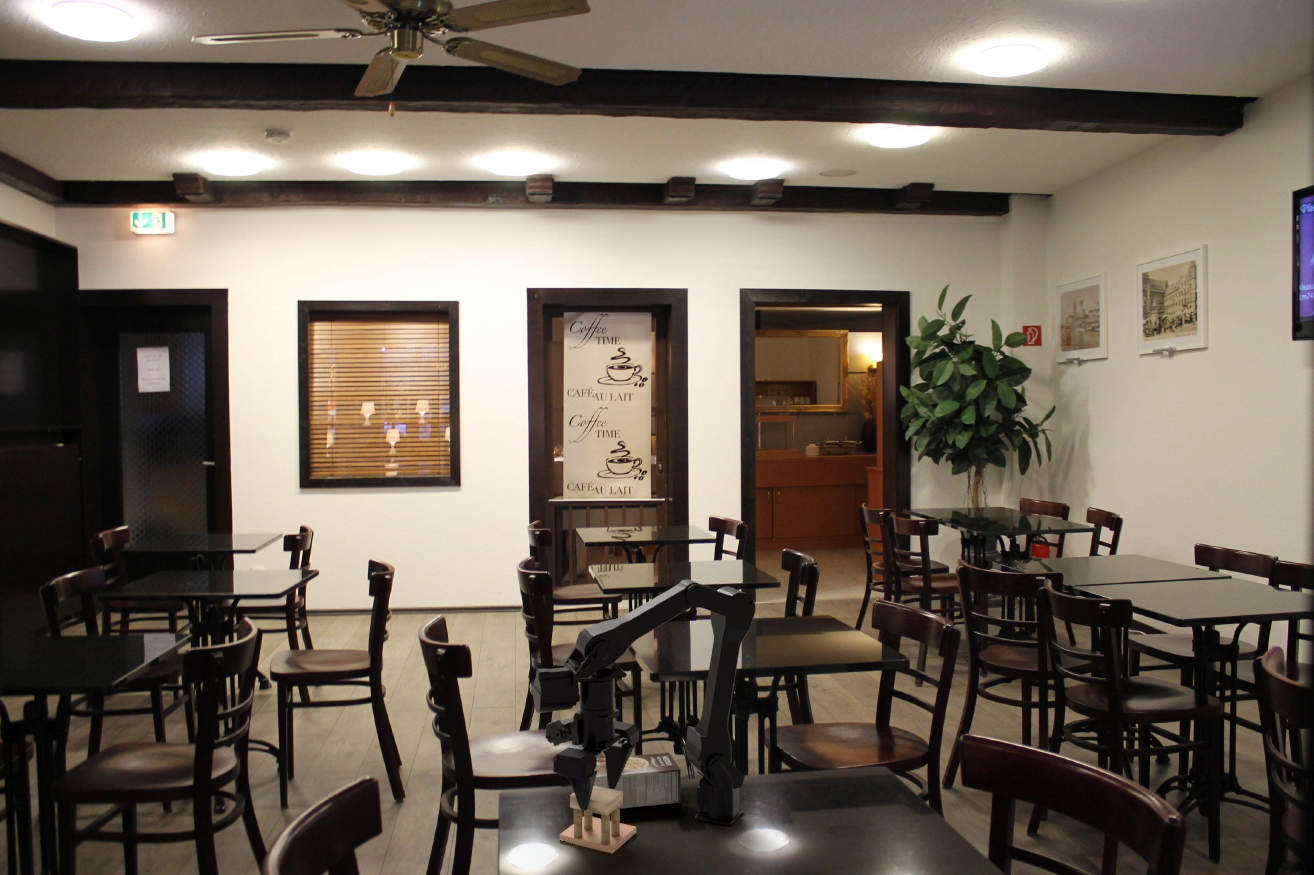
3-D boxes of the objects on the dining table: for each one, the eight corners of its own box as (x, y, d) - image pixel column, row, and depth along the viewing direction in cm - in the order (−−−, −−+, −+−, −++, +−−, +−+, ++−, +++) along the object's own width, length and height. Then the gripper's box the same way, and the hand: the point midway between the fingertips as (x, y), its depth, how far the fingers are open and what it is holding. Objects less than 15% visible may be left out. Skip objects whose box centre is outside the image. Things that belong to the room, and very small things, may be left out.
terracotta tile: (636, 832, 149) (636, 826, 149) (612, 853, 142) (612, 847, 142) (585, 821, 153) (585, 815, 153) (559, 840, 146) (559, 834, 146)
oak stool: (623, 833, 146) (622, 791, 146) (607, 846, 142) (607, 803, 142) (586, 825, 150) (586, 784, 149) (570, 837, 145) (570, 795, 145)
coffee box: (585, 758, 165) (669, 750, 169) (585, 792, 165) (669, 784, 169) (592, 777, 156) (681, 768, 160) (593, 813, 156) (681, 804, 160)
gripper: (585, 684, 159) (586, 770, 159) (524, 715, 143) (525, 811, 143) (640, 692, 154) (640, 781, 154) (583, 725, 138) (584, 825, 138)
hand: (598, 798), depth 148 cm, fingers open, 9 cm apart
